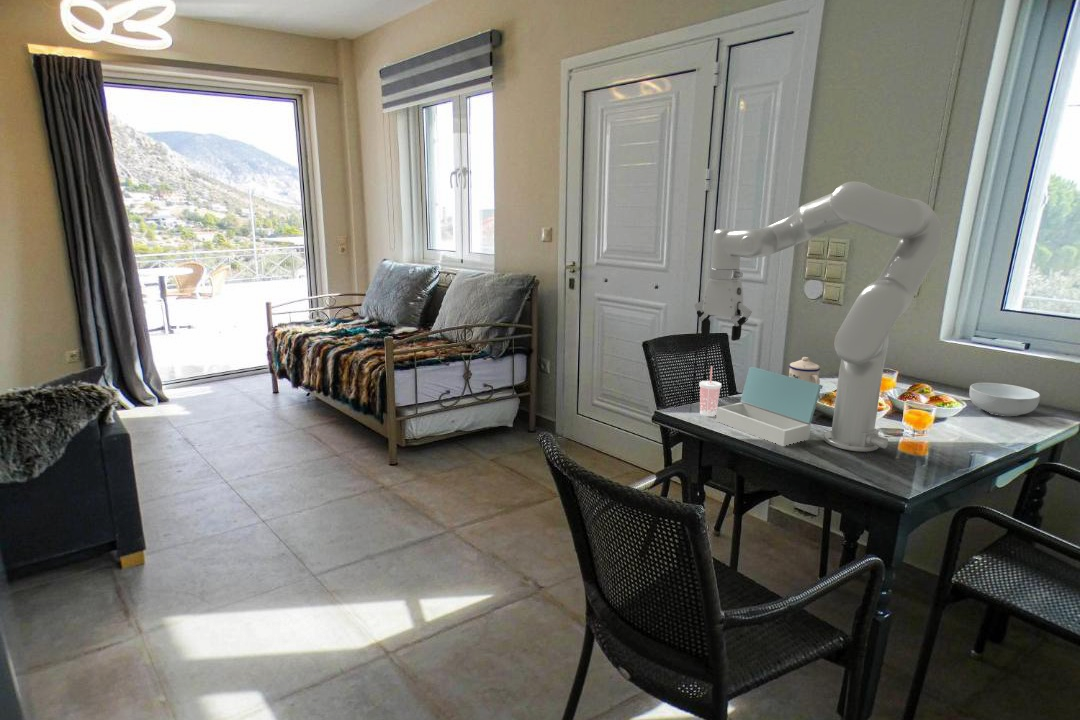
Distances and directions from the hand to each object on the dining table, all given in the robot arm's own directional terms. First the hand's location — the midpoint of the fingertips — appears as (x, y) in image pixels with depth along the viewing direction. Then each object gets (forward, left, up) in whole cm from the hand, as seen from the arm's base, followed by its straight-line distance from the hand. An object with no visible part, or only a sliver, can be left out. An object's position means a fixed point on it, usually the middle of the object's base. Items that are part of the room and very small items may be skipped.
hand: (720, 337), depth 178 cm
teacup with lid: (0, -40, -22) cm, 46 cm away
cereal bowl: (-41, -74, -23) cm, 88 cm away
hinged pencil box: (-16, 0, -22) cm, 27 cm away
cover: (-16, -6, -13) cm, 21 cm away
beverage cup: (+1, +2, -22) cm, 22 cm away
